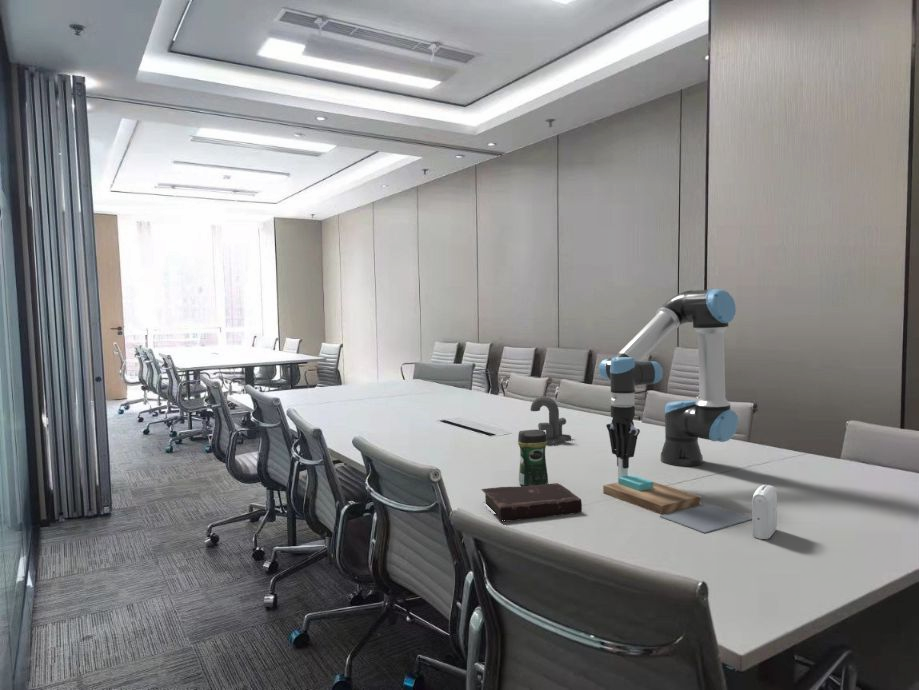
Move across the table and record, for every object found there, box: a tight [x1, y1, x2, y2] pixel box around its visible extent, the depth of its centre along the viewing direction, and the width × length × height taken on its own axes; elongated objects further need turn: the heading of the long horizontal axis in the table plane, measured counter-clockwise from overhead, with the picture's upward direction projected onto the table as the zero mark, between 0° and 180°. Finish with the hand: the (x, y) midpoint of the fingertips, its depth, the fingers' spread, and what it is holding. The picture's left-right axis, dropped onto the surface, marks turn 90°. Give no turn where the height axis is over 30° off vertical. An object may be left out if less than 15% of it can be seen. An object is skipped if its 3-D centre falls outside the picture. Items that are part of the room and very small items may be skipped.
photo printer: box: [751, 484, 778, 540], centre depth 155 cm, size 10×4×12 cm, turn 140°
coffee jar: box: [517, 429, 549, 487], centre depth 202 cm, size 10×8×19 cm
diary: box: [480, 482, 583, 522], centre depth 179 cm, size 19×25×5 cm
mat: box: [659, 503, 752, 534], centre depth 167 cm, size 20×15×1 cm
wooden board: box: [602, 481, 701, 515], centre depth 185 cm, size 16×24×2 cm, turn 29°
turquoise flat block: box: [617, 474, 654, 491], centre depth 190 cm, size 6×9×2 cm, turn 29°
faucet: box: [530, 395, 572, 446], centre depth 271 cm, size 18×16×20 cm
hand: (622, 477), depth 195 cm, fingers closed
